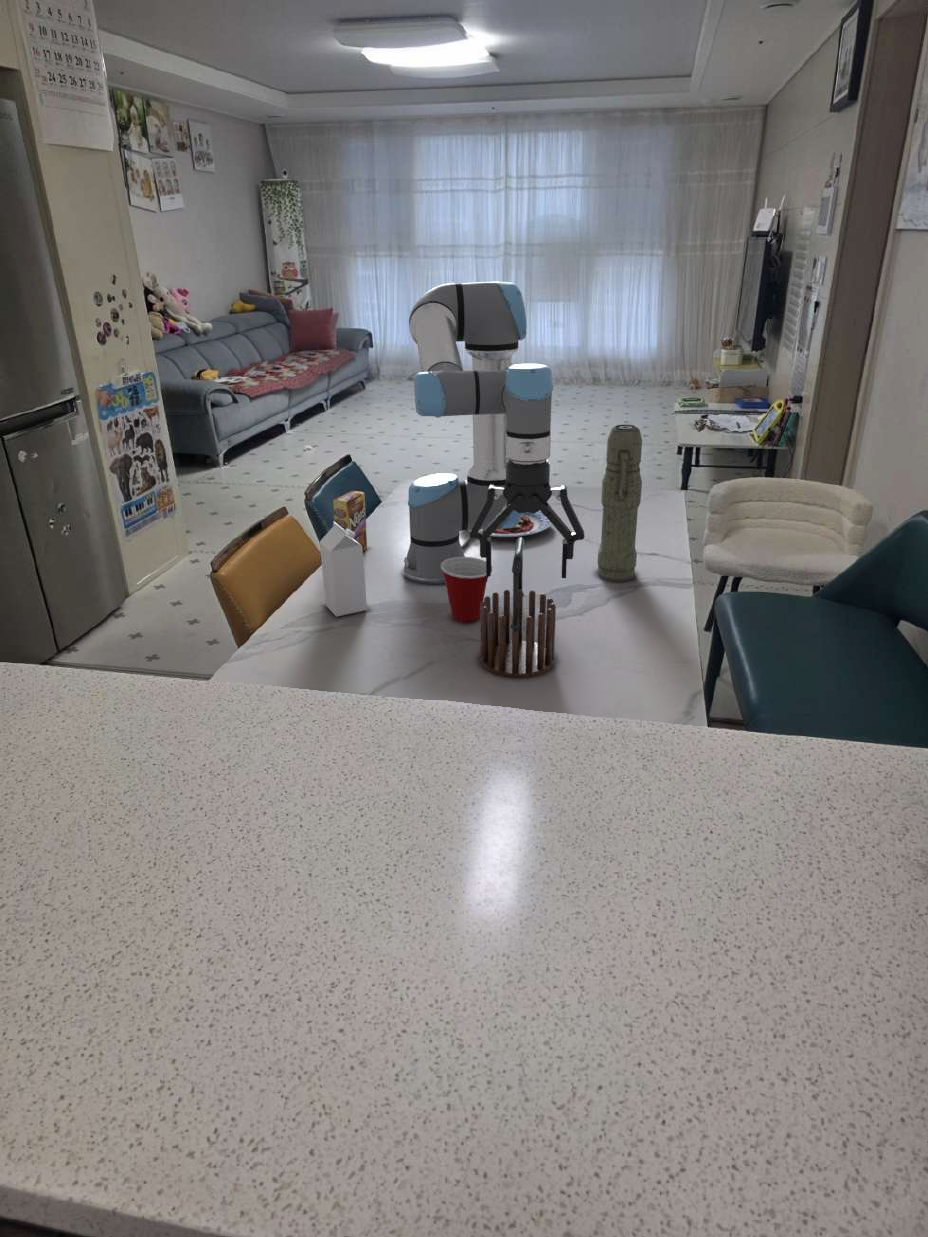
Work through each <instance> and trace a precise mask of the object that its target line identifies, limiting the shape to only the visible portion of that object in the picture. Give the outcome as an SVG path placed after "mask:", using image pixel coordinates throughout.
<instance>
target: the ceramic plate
mask: <svg viewBox="0 0 928 1237" xmlns="http://www.w3.org/2000/svg"><path fill="white" fill-rule="evenodd" d="M552 525H553V524H552V523H551V522H550V521H549V519H548V518H547V517H546V516H544V515H543V513H542V512H541V511H538V512H536V513H529V512H525V513H522V516H521V519H520V521H519V523H518V524H517V525H516V526H515V527H512V528H503V529H500V530H497V529H496V530H495V531H494V532H493V533H492V534H491V535H490V536H489V537H491V538H492V537H493V538H519V537H524V536H531V535H535V534H538V533H541V532H544V531H546V530H547V529H549V528H550V527H552ZM470 531H471V530H468V531H467V532H469V533H470ZM480 531H483V530H480Z"/></svg>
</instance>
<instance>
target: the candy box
mask: <svg viewBox="0 0 928 1237" xmlns="http://www.w3.org/2000/svg"><path fill="white" fill-rule="evenodd" d="M365 498H366V496H365V492H363V491H357V490H351V491H349V492H347V493H344V494H343V495H341V496H338V497H336V498H334V499H333V500H332V503H333V517H334V518H333V519H334V520H333V521H334V522H336V523H337V524H338V525H339V526H340V527H342V528H343V529H344V530H345V531H346V529H349V530H350V531H352V532H353V533H355V536H354V538H353V539H354V540H355V541H357V542H358V543H359V544H360V545H361V546H362V550H363V551H365V550H367V549H368V540H367V539H368V537H367V521H366V520H367V519H366V518H367V517H366V516H367V515H366V501H365Z"/></svg>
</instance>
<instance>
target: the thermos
mask: <svg viewBox="0 0 928 1237" xmlns="http://www.w3.org/2000/svg"><path fill="white" fill-rule="evenodd" d="M640 430H641V429H640V428H639V427H637V426H636V425H634V424H617V425H614V426H613V427H611V429H610V432H609V434H608V437H607V440H606V458H605V461H606V467H605V472H604V475H603V478H602V480H601V498H600V499H601V500H600V502H601V505H602V515H601V516H602V517H601V518H602V519H601V520H602V521H601V536H600V544H599V546H598V550H597V576H598V577H599V578H600V579H602V580H604V581H609V582H617V583H619V582H620V583H621V582H627V581H631V580H633V579H634V578H635V572H636V570H635V569H636V566H637V556H638V552H637V549H636V537H637V526H638V511H639V507H640V505H641V500H642V485H643V480H642V477H641V467H640V466H641V464H640V463H641V462H642V450H643V438H642V433H641V431H640Z"/></svg>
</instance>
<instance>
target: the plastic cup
mask: <svg viewBox="0 0 928 1237" xmlns="http://www.w3.org/2000/svg"><path fill="white" fill-rule="evenodd" d="M441 569H442V571H443V573H444V578H445V582H446V583H445V586H446V593H447V597H448V598H447V599H448V603H449V606H450V610H451V611H450V612H451V617H452V618H453V620H455V621H456V622H459V623H474V622H476V621H478V620H480V603H481V602H483V601H484V598H485V594H486V588H487V583H488V579H489V577H487V576H486V560H483V559H482V558H477V557H471V556H465V557H454V558H450V559H446V560H444V561H443V562H442V563H441ZM492 572H493V565H491V573H492Z"/></svg>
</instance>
